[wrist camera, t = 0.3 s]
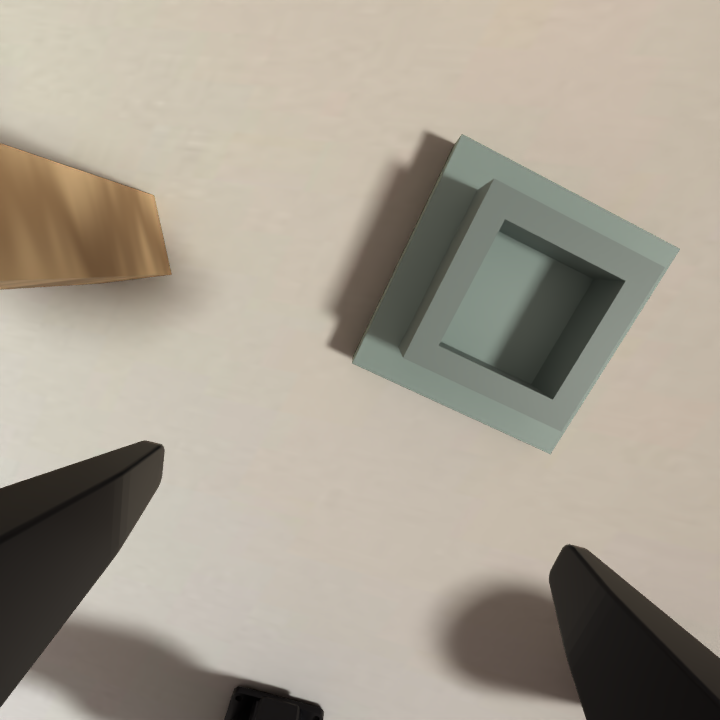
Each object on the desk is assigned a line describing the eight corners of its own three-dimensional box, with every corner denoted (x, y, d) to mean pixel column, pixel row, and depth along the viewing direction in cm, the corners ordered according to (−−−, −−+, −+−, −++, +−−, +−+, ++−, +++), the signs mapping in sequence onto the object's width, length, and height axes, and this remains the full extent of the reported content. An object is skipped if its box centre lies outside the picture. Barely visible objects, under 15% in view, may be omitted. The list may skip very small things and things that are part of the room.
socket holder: (538, 442, 23) (573, 477, 19) (353, 357, 22) (350, 376, 18) (657, 250, 21) (725, 246, 17) (454, 144, 20) (477, 113, 16)
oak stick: (171, 274, 21) (-108, 284, 9) (99, 283, 22) (-279, 306, 9) (153, 195, 21) (-186, 79, 8) (78, 205, 21) (-372, 108, 8)
